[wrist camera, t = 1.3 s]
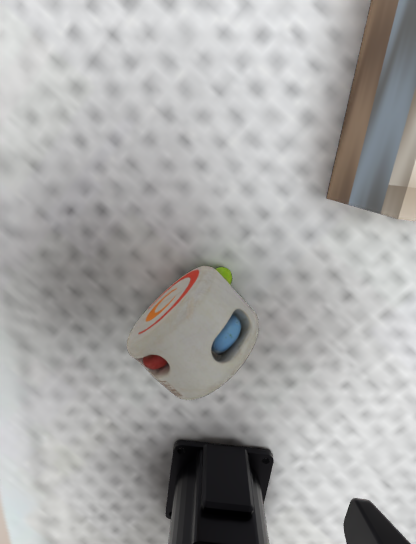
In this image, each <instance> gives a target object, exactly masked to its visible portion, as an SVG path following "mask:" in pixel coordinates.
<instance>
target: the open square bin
mask: <svg viewBox="0 0 416 544" xmlns="http://www.w3.org/2000/svg"><path fill="white" fill-rule="evenodd" d="M327 199H331V200H334V201H337V202H341V203H344V204H348V205H351V206H355V207H358V208H362V209H365V210H369V211H372V212H375V213H379V214H382V215H386V216H389V217H393V218H396V219H401V220H409V221H416V0H371V5H370V9H369V13H368V18H367V22H366V27H365V31H364V35H363V40H362V44H361V49H360V53H359V57H358V62H357V66H356V71H355V75H354V79H353V84H352V88H351V92H350V97H349V101H348V106H347V110H346V114H345V119H344V123H343V128H342V132H341V136H340V141H339V145H338V150H337V154H336V158H335V163H334V167H333V172H332V176H331V180H330V185H329V189H328V193H327Z"/></svg>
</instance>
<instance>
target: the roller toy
mask: <svg viewBox="0 0 416 544" xmlns="http://www.w3.org/2000/svg"><path fill="white" fill-rule="evenodd" d="M231 281H232V274H231V272H230V270H229V269H227V268H225V267H219V268H216V269H214V268H212V267H209V266H201V267H198V268H195V269H193V270H191V271H190V272H188V273H187V274H185V275H184V276H182V277H181V278H179V279H178V280H177V281H176V282H174V283H173V284H172V285H171V286H170V287H168V288H167V289H166V290H165V291H164V292H163V293H162V294H161V295H160V296H159V297H158V298H157V299H156V300H155V301H154V302H153V303H152V304H151V305H150V306H149V307H148V309H147V310H146V311H145V312H144V313H143V315H142V316H141V317H140V318H139V320H138V321H137V322H136V324H135V325H134V327H133V329H132V330H131V332H130V334H129V336H128V340H127V350H128V352H129V354H130V355H131V356H132V357H133V358H135V359H136V360H138V361H139V362H140V363H141V364H142V365H143V366H144V367H145V368H146V369H147V370H148V371H149V373H150V374H151V375H152V376H153V377H154V378H155V379H156V380H157V381H159V382H160V383H161V384H162V385H163V386H165V387H166V388H167V389H168V390H169V391H170V392H171V393H173V394H174V395H175V396H176V397H178V398H180V399H184V400H194V399H198V398H201V397H204V396H206V395H208V394H210V393H212V392H213V391H215V390H216V389H218V388H219V387H221V386H222V385H223V384H224V383H226V382H227V381H228V380H229V379H230V378H231V377H232V376H233V375H234V374H235V373H236V372H237V371H238V369H239V368H240V367H241V366H242V364H243V363H244V362H245V360H246V359H247V357H248V356H249V354H250V352H251V351H252V349H253V346H254V344H255V341H256V338H257V335H258V330H259V322H258V318H257V315H256V313H255V312H254V311H253V310H252V308H251V307H250V306H249V305H248V304H247V303H246V302H245V301H244V300H243V298H242V297H241V296H240V295H239V294H238V293H237V292H236V291H235V289H234V288H233V287H232V286H231V285H230V284H231Z"/></svg>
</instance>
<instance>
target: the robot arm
mask: <svg viewBox="0 0 416 544" xmlns="http://www.w3.org/2000/svg"><path fill="white" fill-rule="evenodd" d="M179 448H183V449H179ZM263 458H267V459H263ZM272 466H273V455H272V453H271V452H270V451H269V450H264V449H255V448H247V447H238V446H229V445H220V444H212V443H203V442H194V441H186V440H179V441H177V442H176V443H175V444H174V450H173V458H172V466H171V474H170V482H169V490H168V498H167V506H166V517H167V518H169V519H171V525H170V533H169V541H168V544H269V539H268V533H267V526H266V519H265V512H264V506H263V504H264V500H265V496H266V491H267V487H268V483H269V479H270V474H271V470H272ZM344 533H345V538H346V542H347V544H410V543H409V542H408V540H407V539H406V538H405V537H404V536H403V535H402V534H401V533H400V532H399V531H398V530H397V529H396V528H395V527H394V526H393V525H392V523H391V522H390V521H389V520H388V519H387V518H386V517H385V516H384V515H383V514H382V513H381V512H380V511H379V510H378V509H377V508H376V506H375V505H374V504H373V503H372V502H370V501H369V500H367V499H359V498H353V499H352V500H351V502H350V505H349V508H348V510H347V513H346V516H345V519H344Z"/></svg>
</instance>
